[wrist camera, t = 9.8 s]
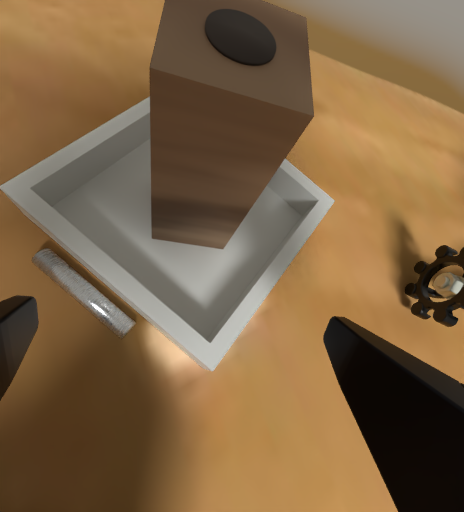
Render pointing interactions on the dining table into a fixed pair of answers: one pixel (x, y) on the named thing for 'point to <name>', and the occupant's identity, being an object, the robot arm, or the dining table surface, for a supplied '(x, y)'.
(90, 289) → the steel pin
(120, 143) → the tray
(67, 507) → the dining table surface
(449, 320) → the valve
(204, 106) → the walnut block
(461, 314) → the dining table surface
